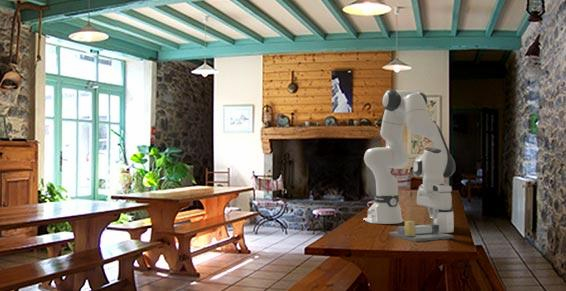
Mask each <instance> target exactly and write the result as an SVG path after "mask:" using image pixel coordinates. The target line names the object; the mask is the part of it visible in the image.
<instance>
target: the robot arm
mask: <svg viewBox="0 0 566 291" xmlns="http://www.w3.org/2000/svg"><path fill="white" fill-rule="evenodd" d="M381 100H382V101H381V103H382V107H383V108H384V112H383V115H382V120H381V127H380V130H379V135H380V136H381V138H382V139H383V140H384V141H385V146H384V147H382V146H381V147H373V148H368V149H367V150H366V151H365V153H364V156H363V161H364V164H365V166H366V167H367V168H369V169H370V171H371V172H372V174H373V177H374V179H375V180H374V181H375V188H376V189H375V195H374V196H373V197H374V203H373V204H372V205H371V206H370V207H369V208H367V209H368V210H367V212H366V213H367V217H363V221H364V220H365V221H366V222H367V223H370V224H381V225H383V224H384V225H393V224H401V223H403V222H404V219H403V218H402V210H401V208H402V207H401V205H400V204H399V203H400V196H399V189H398V188H399V184H398V183H399V182H398V179H397V177H395V176H394V175H392V173H391V170H390V169H397V168H398V169H399V168H402V167H405V166H407V164H408V162H409V157H410V156H409V155H410V154H409V153H408V151H407V150H406V149H405V147H404V145H403V133H404V127H405V125H406V127H407V129H408V130H409V132H411V133H412V134H414V135H417V136H421V137H424V138H426V139H428V140H429V141H431V142H432V143H433V146H434V147H427V148H425V149H424V151H423V153H422V154H421V155H418V156H416V157H415V158H414V160H413V161H412V171H413V173H414V174H415V175H416V176H417V177H420V178H422V184H420V185H419V186H418V189H417V193H416V204H417V206H422V207H427V211H428V214H429V218H431V219H436V218H437V214H438V212H439V209H440V210H450V209H451V206H452V207H453V204H452V203H453V201H452V200H453V198H452V193H451V192H452V191H453V189H452V188H453V187H452V186H451V185H449V184H447V183H446V182H445V179H448V178H450V177H451V176H453V174H455V172H456V169H457V168H456V166H457V164H456V161H455V159H454V157H453V156H452V154H451V152H450V150H449V147H448V145H447V143H446V141H445V138H444V135H443V133H442V131H441V128H440V127H439V125H438V124H436V123H435V122H434V121H433V120H432V118H431V117H430V114H429V109H428V106H427V105H428V97H427V95H426V94H425V93H423V92H421V91H414V90H408V89H403V90H402V89H397V90H396V89H388V90H386V91H385V92H384V93H383V95H382V99H381ZM433 211H434V212H433Z"/></svg>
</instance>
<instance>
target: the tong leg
mask: <svg viewBox="0 0 566 291" xmlns="http://www.w3.org/2000/svg"><path fill="white" fill-rule="evenodd" d="M432 224H433V223H432ZM437 232H439V225H436V224H433V225H425V226H417V225H415V234H423V233H437Z"/></svg>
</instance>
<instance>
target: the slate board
mask: <svg viewBox="0 0 566 291" xmlns="http://www.w3.org/2000/svg"><path fill="white" fill-rule="evenodd" d="M388 236H391V237H396V238H400V239H403V240H408V241H410V242H427V241H428V240H429V241H437V240H439V239H441V240H450V238H452V239H454V235H452V234H449V233H439V232H437V233H423V234H415V236H405V235H401V234H398V230H397V231H389V232H388ZM439 241H440V240H439Z"/></svg>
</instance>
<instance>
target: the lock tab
mask: <svg viewBox="0 0 566 291" xmlns="http://www.w3.org/2000/svg"><path fill="white" fill-rule="evenodd" d="M404 226H405V235H406V236H415V226H416V222H415V220H414V221H413V220H404Z"/></svg>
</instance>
